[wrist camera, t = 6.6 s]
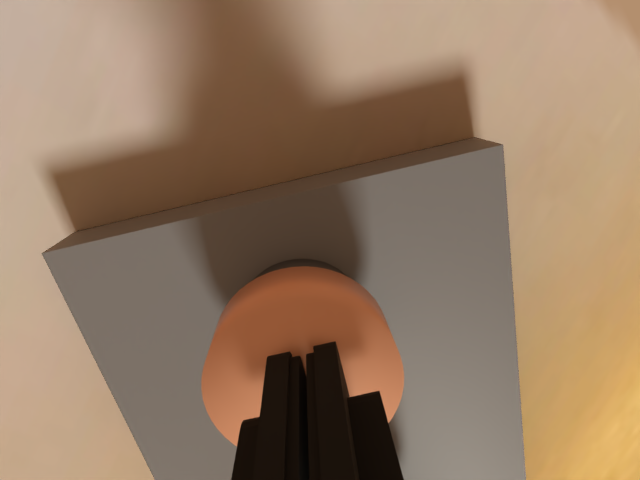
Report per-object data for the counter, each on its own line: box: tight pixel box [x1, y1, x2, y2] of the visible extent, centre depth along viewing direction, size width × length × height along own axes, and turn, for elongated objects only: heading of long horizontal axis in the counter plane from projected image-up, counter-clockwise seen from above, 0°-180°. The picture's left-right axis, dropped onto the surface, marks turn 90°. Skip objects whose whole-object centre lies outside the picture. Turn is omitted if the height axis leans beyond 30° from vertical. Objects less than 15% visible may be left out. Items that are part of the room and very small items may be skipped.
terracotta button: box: [201, 266, 404, 446], centre depth 11 cm, size 5×5×2 cm
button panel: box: [42, 137, 526, 480], centre depth 17 cm, size 14×24×3 cm, turn 13°
